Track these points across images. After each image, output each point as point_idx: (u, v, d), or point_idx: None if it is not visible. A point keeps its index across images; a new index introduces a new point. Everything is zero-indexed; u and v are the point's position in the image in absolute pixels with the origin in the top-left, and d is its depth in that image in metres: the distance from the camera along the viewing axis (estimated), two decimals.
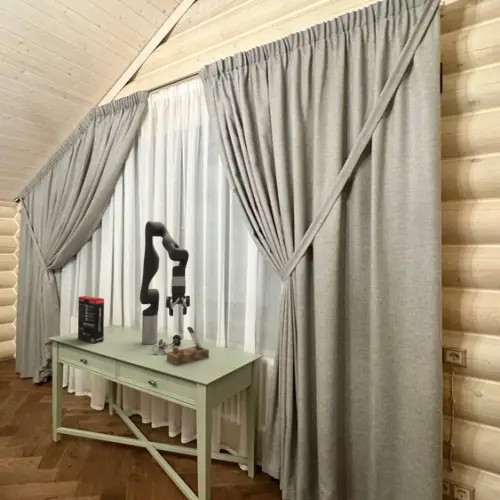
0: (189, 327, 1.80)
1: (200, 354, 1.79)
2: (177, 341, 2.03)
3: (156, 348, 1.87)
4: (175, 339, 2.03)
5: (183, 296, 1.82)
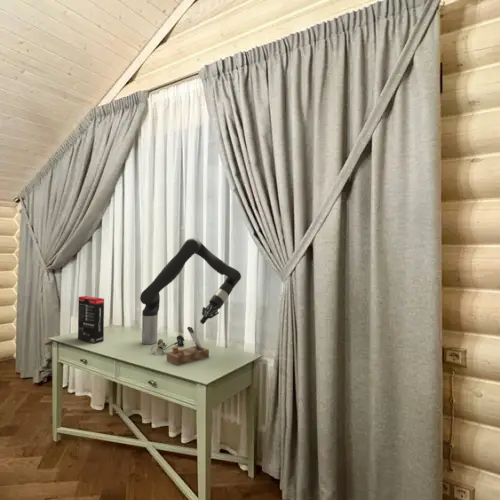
0: (189, 327, 1.80)
1: (200, 354, 1.79)
2: (180, 342, 2.02)
3: (155, 348, 1.88)
4: (178, 340, 2.02)
5: None
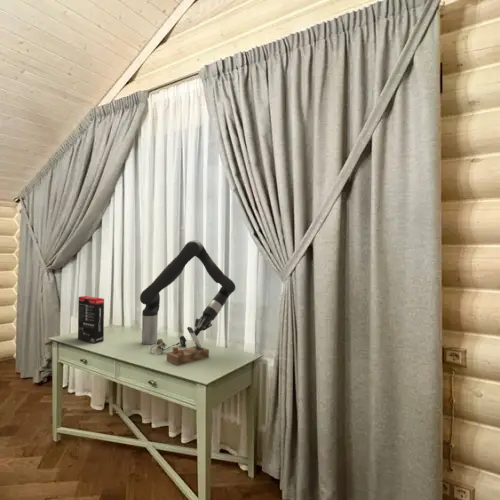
0: (189, 327, 1.80)
1: (200, 354, 1.79)
2: (182, 342, 2.00)
3: (154, 347, 1.88)
4: (181, 340, 2.01)
5: None
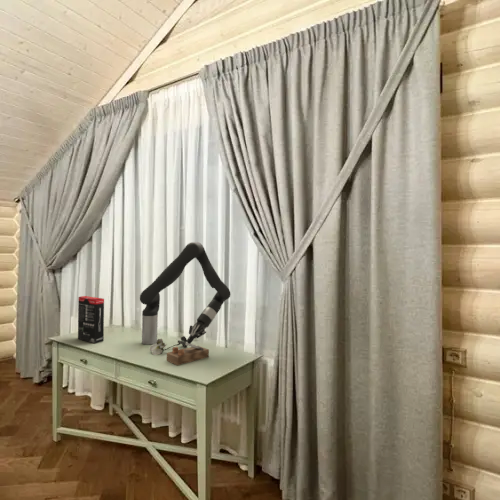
0: (179, 341, 1.75)
1: (200, 354, 1.79)
2: None
3: (154, 347, 1.88)
4: (182, 340, 2.00)
5: None
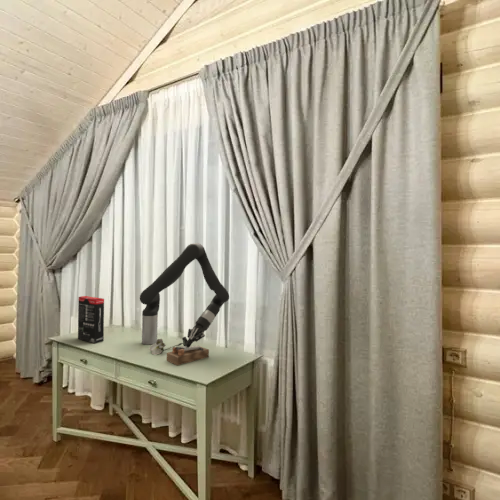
0: (177, 348, 1.74)
1: (200, 354, 1.79)
2: (184, 343, 1.98)
3: (154, 347, 1.89)
4: (183, 341, 2.00)
5: None
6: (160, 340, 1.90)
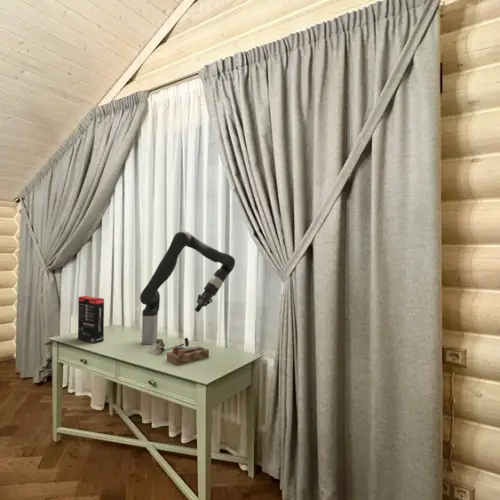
0: (177, 348, 1.74)
1: (200, 354, 1.79)
2: (186, 344, 1.96)
3: (154, 347, 1.89)
4: (185, 342, 1.98)
5: None
6: (160, 340, 1.90)
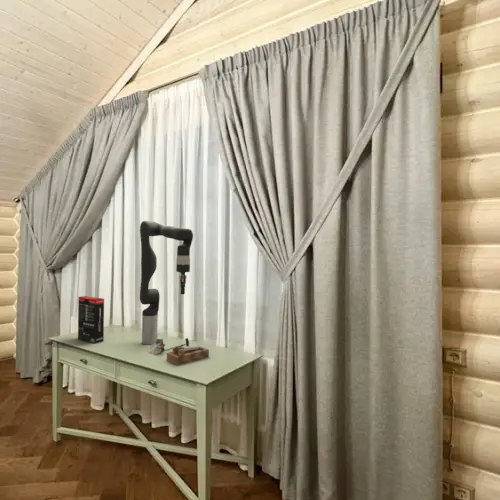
0: (177, 348, 1.74)
1: (200, 354, 1.79)
2: (186, 345, 1.95)
3: (154, 347, 1.89)
4: (186, 342, 1.97)
5: None
6: (160, 340, 1.90)
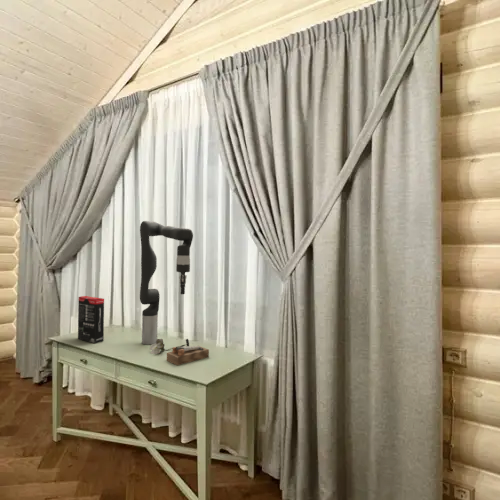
0: (177, 348, 1.74)
1: (200, 354, 1.79)
2: None
3: (154, 346, 1.90)
4: (186, 343, 1.96)
5: None
6: (160, 340, 1.90)
